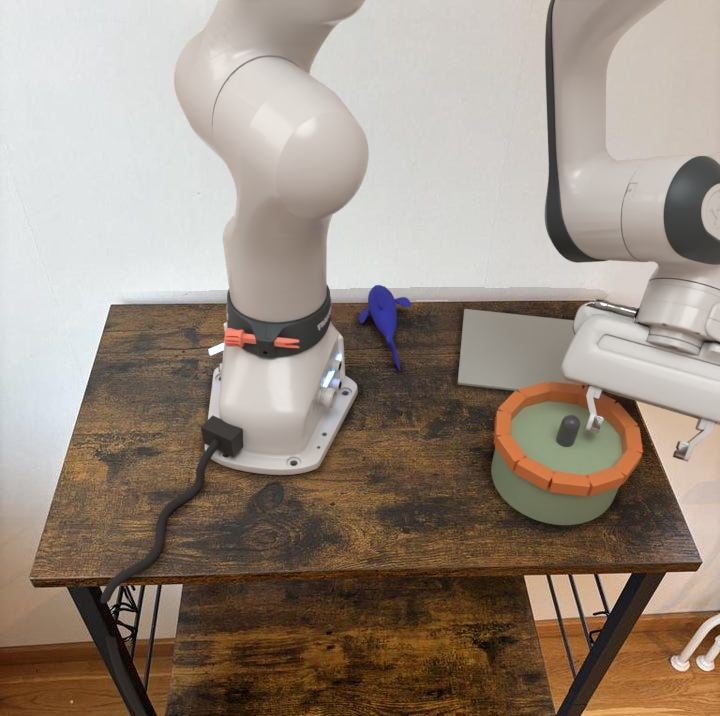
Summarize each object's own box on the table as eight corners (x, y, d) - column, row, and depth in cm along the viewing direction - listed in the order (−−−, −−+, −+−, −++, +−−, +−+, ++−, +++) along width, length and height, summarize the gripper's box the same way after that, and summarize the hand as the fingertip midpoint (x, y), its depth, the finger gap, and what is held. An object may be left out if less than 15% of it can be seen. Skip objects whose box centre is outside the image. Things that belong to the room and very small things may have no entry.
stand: (620, 533, 80) (649, 476, 73) (489, 516, 81) (504, 458, 74) (610, 439, 90) (634, 380, 82) (492, 425, 91) (506, 366, 83)
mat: (581, 398, 94) (582, 396, 94) (457, 384, 95) (457, 382, 95) (576, 322, 104) (576, 320, 104) (464, 310, 106) (464, 308, 105)
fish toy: (359, 314, 107) (344, 277, 102) (409, 297, 106) (396, 258, 101) (373, 382, 97) (357, 345, 92) (428, 364, 96) (414, 325, 91)
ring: (644, 504, 75) (649, 494, 74) (492, 485, 76) (494, 475, 75) (630, 400, 85) (634, 390, 84) (496, 385, 87) (498, 375, 85)
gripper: (583, 287, 76) (539, 414, 78) (791, 341, 71) (739, 476, 73) (582, 300, 82) (541, 417, 84) (774, 350, 77) (726, 475, 79)
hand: (635, 445), depth 78 cm, fingers open, 8 cm apart
